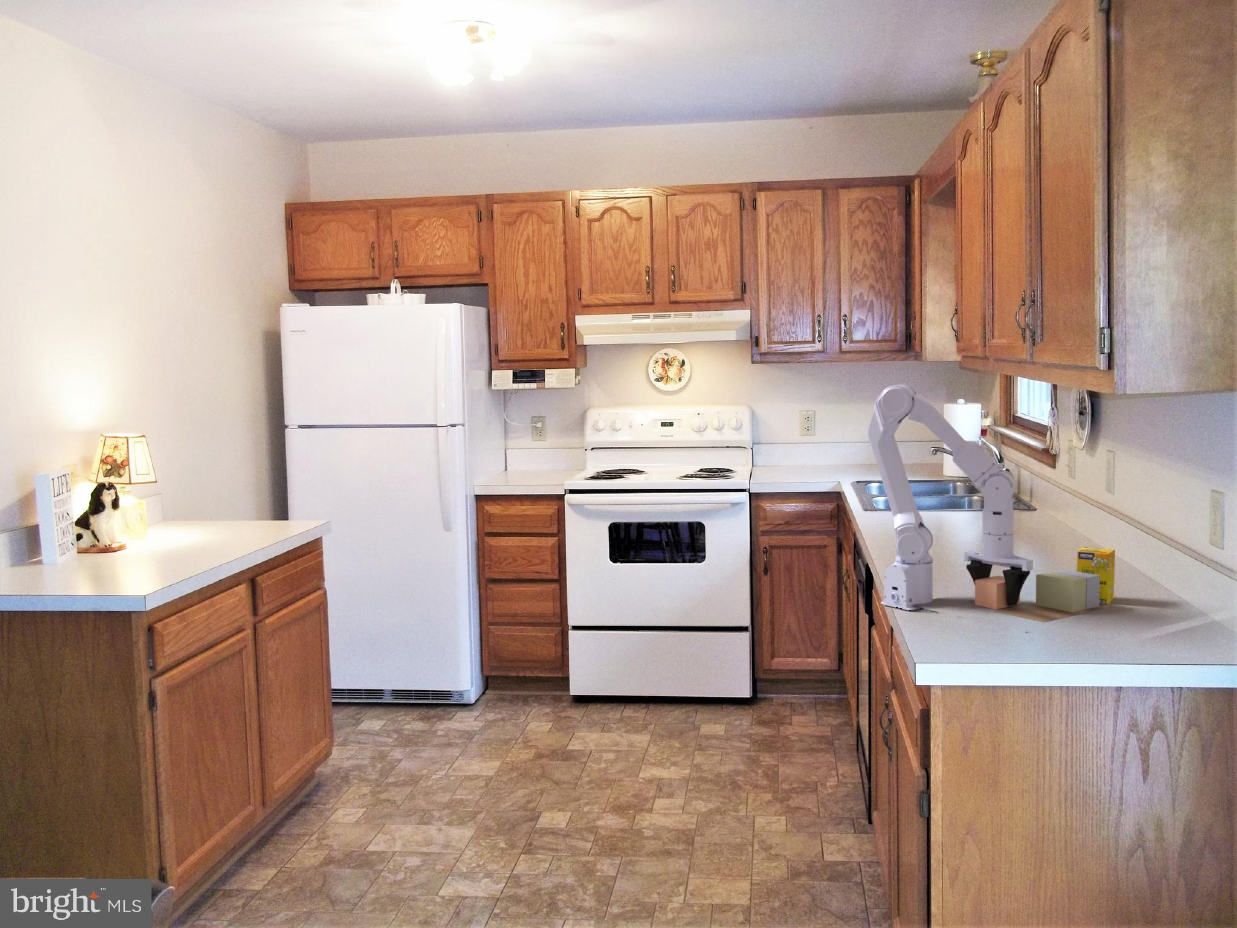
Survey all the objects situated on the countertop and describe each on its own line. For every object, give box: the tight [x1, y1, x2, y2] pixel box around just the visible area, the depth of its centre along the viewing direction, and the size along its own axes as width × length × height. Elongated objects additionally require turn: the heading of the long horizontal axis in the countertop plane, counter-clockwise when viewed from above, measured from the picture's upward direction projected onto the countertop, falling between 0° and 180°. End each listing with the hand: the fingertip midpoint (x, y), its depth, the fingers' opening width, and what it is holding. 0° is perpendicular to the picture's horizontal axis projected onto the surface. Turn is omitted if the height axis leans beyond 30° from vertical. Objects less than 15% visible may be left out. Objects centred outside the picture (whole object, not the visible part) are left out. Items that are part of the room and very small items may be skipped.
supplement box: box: [1076, 546, 1116, 605], centre depth 216 cm, size 6×6×11 cm
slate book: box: [1050, 568, 1100, 609], centre depth 213 cm, size 4×8×6 cm, turn 33°
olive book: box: [1035, 571, 1086, 612], centre depth 210 cm, size 4×8×6 cm, turn 33°
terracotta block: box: [974, 575, 1021, 610], centre depth 214 cm, size 7×5×6 cm
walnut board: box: [993, 601, 1109, 623], centre depth 209 cm, size 20×11×1 cm, turn 123°
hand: (997, 602), depth 214 cm, fingers open, 6 cm apart
